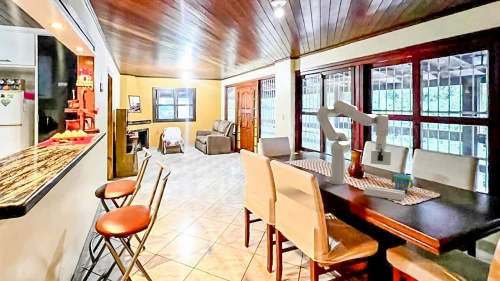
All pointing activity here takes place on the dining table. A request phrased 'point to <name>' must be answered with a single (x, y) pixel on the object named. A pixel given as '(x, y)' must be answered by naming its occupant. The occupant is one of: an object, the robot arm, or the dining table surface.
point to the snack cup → (402, 182)
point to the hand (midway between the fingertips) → (380, 160)
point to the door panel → (385, 157)
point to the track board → (384, 192)
